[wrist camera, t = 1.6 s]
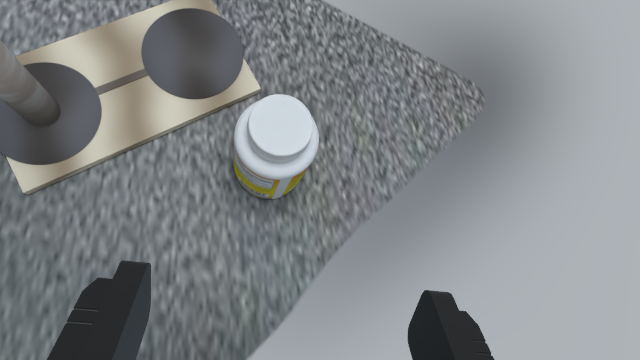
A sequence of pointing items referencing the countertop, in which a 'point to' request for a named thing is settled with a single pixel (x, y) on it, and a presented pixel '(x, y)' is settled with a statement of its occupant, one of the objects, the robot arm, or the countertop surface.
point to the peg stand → (116, 89)
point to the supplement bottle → (274, 146)
